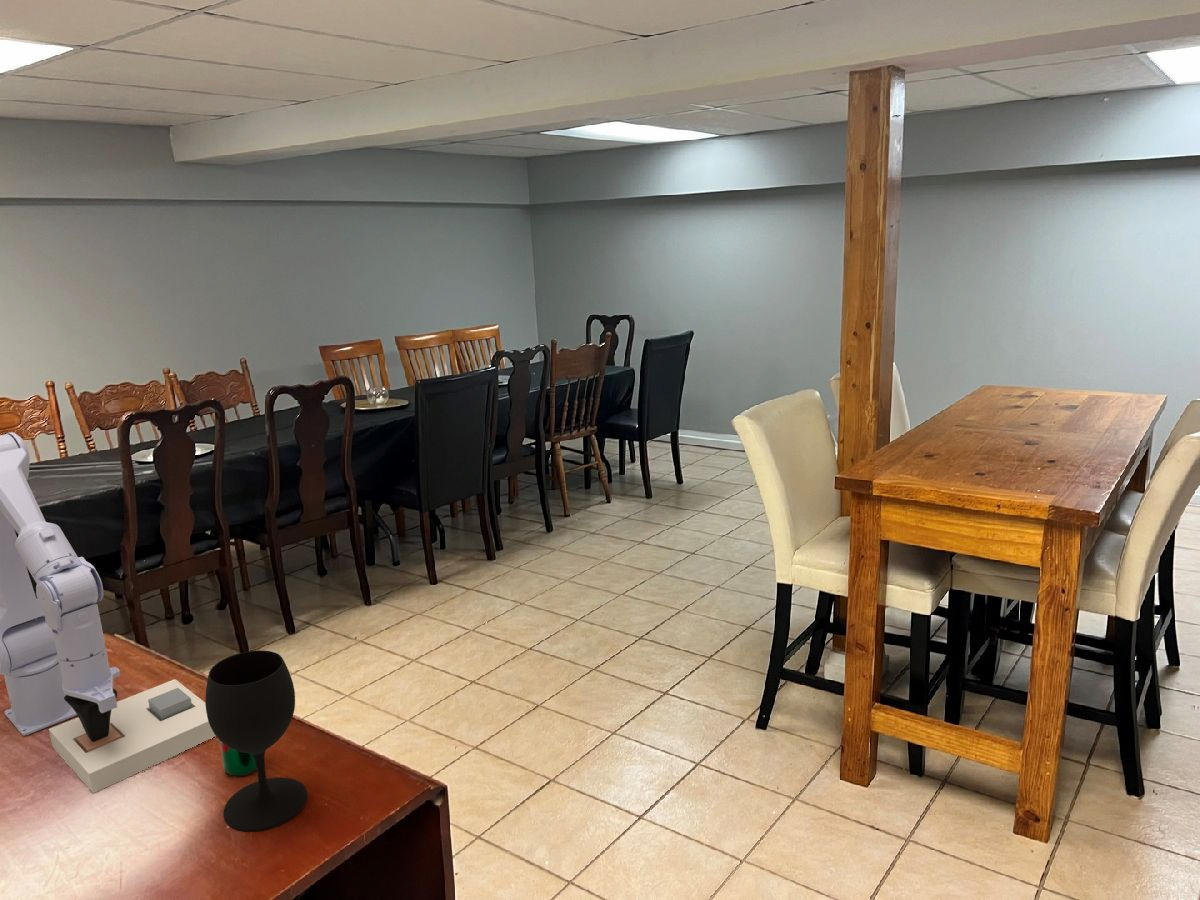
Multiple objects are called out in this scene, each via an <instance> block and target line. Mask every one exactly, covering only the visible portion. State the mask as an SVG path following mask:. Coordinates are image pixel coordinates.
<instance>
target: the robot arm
mask: <svg viewBox="0 0 1200 900" xmlns="http://www.w3.org/2000/svg"><path fill="white" fill-rule="evenodd" d="M30 462H31V460H30V454H29V449H28V447H27V445H26V442H25V440H23V438H22V437H21V436H20V435H18V434H17V433H15V432H14V431H13V432H12V431H11V432H7V433H6V434H0V675H2V676H4V682H5V686H6V690H7V695H8V699H9V702H10V703H9V704H10V708H8V709H5V711H4V712H3V713H4V715H5V716H6V718H7V719H8V720H9V721H10V722H11V723H12V724H13V725H14V727H15V729H16V730H17V731H18V732H19V733H20V734H21V735H22V736H28V735H30V734H33V733H35V732H38V731H41V730H43V729H47V728H48V727H52V726H53V725H56V724H59V723H61V722H63V721H66V720H68V719H71V718H74V717H76V716H77V718H78V717H79V719H80V721H81V723H82V725H83V728H84V730H85V732H86V734H87V735H88V737H89V738H90V740H91V741H92V742H95V741H97V740H100V739H102V738H105V737H107V736H108V735H109V727H110V716H111V710H112V709H114V708H117V702H118V701H117V697H118V691H117V690H116V689H115V687H114V679H115V678H116V677H119V676H120V675H121V670H120V669H119V668H118V667H117V666H112V667H110V664H109V663H110V662H109V659H108V657H109V656H108V654H107V647H106V641H105V638H104V633H103V627H102V626H103V625H102V621H101V620H102V619H101V616H100V611H99V605H98V604H97V602H99V603H100V602H101V601H102V600H103V598H104V588H103V587H104V586H103V582H102V579H101V577H100V575H99V573H98V571H97V570H96V568H95V566H94V565H93V564H91V562H89V561H86V559H85V557H83V556H80V557H79V556H78V555H77V553H76V552H75V550H74V549H73V546H72V545H71V543H70V542H69V540H68V539H67V537H66V535H65V533H64V532H63V530H62V529H61V527H60V526H59V525H58V524H56V523H52V522H47V521H46V519H45V517H44V515H43V513H42V511H41V509H40V506H39V505H38V502H37V500H36V498H35V496H34V494H33V491H32V489H31V487H30V485H29V482H28V479H29V474H30ZM16 533H17V534H18V536H17V534H16ZM28 571H29V572H28ZM29 573H30V574H31V576H30V575H29ZM30 577H32V578H33V580H34V582H35V583H36V586H35V589H34V587H33V584H32V581H31V578H30ZM34 590H35V591H34ZM35 592H36V593H35Z"/></svg>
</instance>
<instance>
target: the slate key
mask: <svg viewBox="0 0 1200 900" xmlns="http://www.w3.org/2000/svg"><path fill="white" fill-rule="evenodd" d="M148 702H149V708H150V712H151V713H152V714H153V715H155V716H156V717H157V718H158V719H159V720H160V721H163V720H165V719H167V718H170V717H172V716H175V715H177V714H179V713H182V712H184V711H186V710H189V709H191V708H192V704H191V698H190V697H189V696H188V695H186V694H185V693H184V692H183V691H181V690H180V689H179V688H176V689H173V690H171V691H169V692H166V693H164V694H161V695H159V696H156V697H154V698H151V699H149V700H148Z"/></svg>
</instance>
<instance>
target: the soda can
mask: <svg viewBox="0 0 1200 900" xmlns="http://www.w3.org/2000/svg"><path fill="white" fill-rule="evenodd" d="M218 740H219V739H218ZM219 747H220V753H221V759H222V766H223V769H224V770H223V771H225V772H226V773H227V774H229V775H231V776H233V777H239V776H241V777H242V776H245V775H248V774H251V773H253V772H254V771H257V768H256V764H255V760H254V757H253V755H252V754H249V753H243V752H240V751H237V750H234V749H232V748H230V747H228V746H226V745H225V744H224V743H222V742H221V741H220V740H219Z"/></svg>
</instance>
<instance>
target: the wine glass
mask: <svg viewBox="0 0 1200 900" xmlns="http://www.w3.org/2000/svg"><path fill="white" fill-rule="evenodd" d="M206 681H207V682H206V687H205V698H204V699H205V701H204V702H205V704H206V713H207V718H208V722H209V724H210V727H211V729H212V730H213V732H214V734H215V735H216V737H215V738H217V739H218V740H220V741H221V742H222V743H224V744H225V745H226V746H228V747H230V748H232V749H234V750H237V751H240V752H243V753H249V754H252V755H253V757H254V760H255V764H256V768H257V769H256V772H257V779H258V780H257V781H255V782H252V783H250V784H248V785H245V786H244V787H242V788H241V789H239V790H238V791H236V792H235V793H234V794H233V795H232V796H231V797H230V798H228V800H227V801H226V804H225V805H224V807H223V812H222V813H223V814H222V815H223V820H224V822H225V824H226V825H228V826H229V827H230V828H232V830H236V831H240V832H248V833H249V832H250V833H253V832H261V831H267V830H270V829H274V828H276V827H279V826H282V825H283V824H285V823H287V822H289V821H290V820H292V819H293V818H294V817H296V816H297V815H298V814H299V813H300V812H301V811H302V810H303V808H304V807H305V805H306V803H307V801H308V790H307V788H306V786H305V785H304V784H303V783H302V782H301V781H299V780H297V779H294V778H291V777H283V776H281V777H279V776H278V777H270V778H267V772H266V764H265V758H266V757H265V755H266V751H267V750H268V749H270V748H271V747H272V746H273V745H275V744H276V743H277V742H278V741H280V739H281V737H283V735H284V734H285V733H286V732H287V729H288V728H289V726H290V724H291V722H292V720H293V717H294V714H295V709H296V692H295V691H296V690H295V687H294V683H293V678H292V675H291V673H290V670H289V668H288V666H287V663H286V662H285V660H284V658H283V657H282V655H280V654H279V653H277V652H274V651H272V650H271V651H270V650H261V649H260V650H258V649H257V650H249V651H243V652H239V653H236V654H233V655H230V656H227V657H226V658H224V659H222V660H219V661H218V662H217V663H216V664H214V665H213V666H212V667H211V668H210V670H209V672H208V677H207V680H206ZM220 741H219V742H220Z"/></svg>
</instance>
